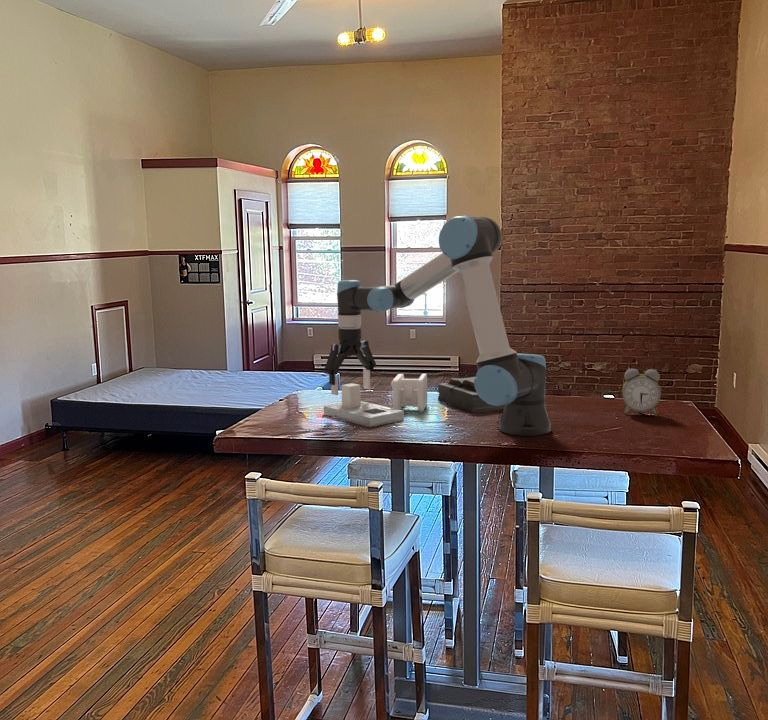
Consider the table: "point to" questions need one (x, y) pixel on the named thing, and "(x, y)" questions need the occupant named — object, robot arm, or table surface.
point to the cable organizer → (409, 392)
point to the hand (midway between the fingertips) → (351, 391)
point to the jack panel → (365, 414)
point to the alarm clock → (641, 390)
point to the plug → (351, 395)
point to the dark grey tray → (464, 395)
